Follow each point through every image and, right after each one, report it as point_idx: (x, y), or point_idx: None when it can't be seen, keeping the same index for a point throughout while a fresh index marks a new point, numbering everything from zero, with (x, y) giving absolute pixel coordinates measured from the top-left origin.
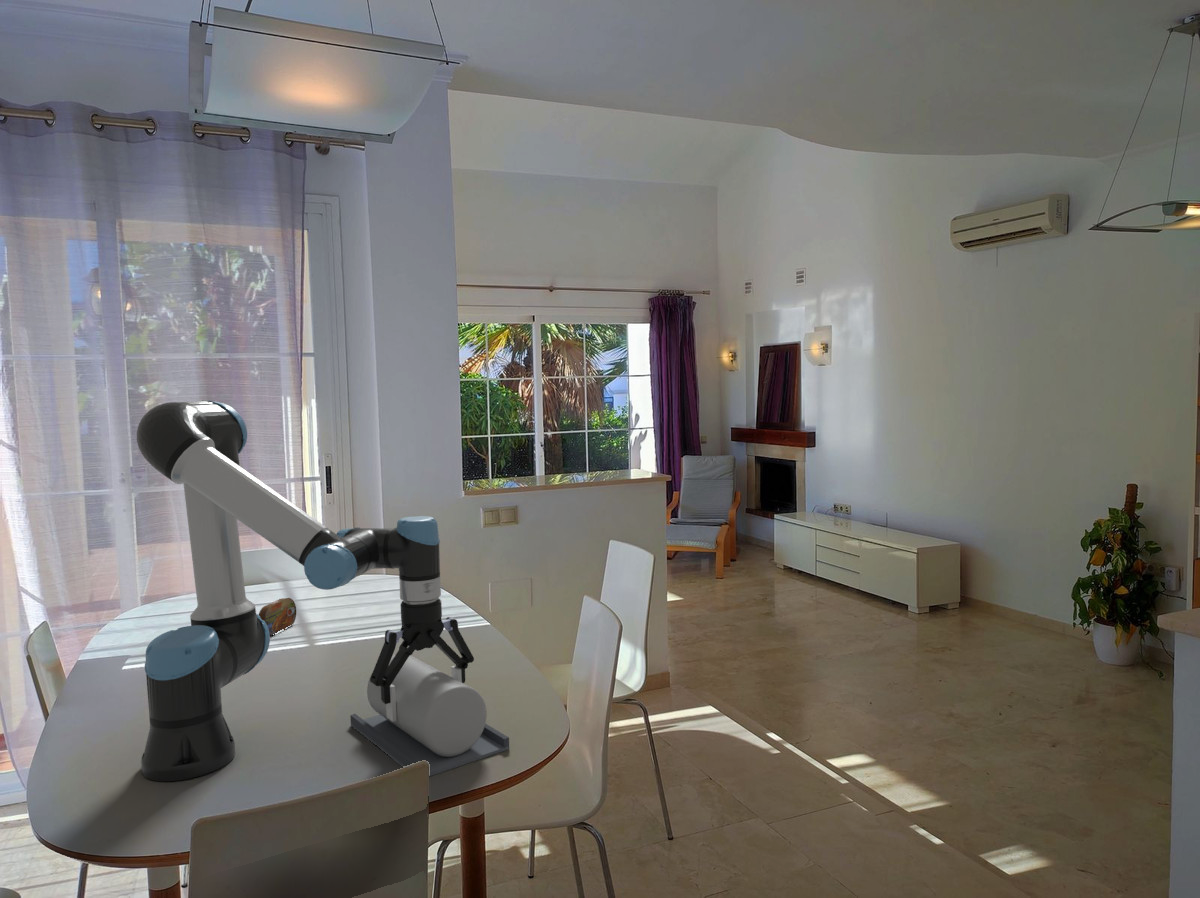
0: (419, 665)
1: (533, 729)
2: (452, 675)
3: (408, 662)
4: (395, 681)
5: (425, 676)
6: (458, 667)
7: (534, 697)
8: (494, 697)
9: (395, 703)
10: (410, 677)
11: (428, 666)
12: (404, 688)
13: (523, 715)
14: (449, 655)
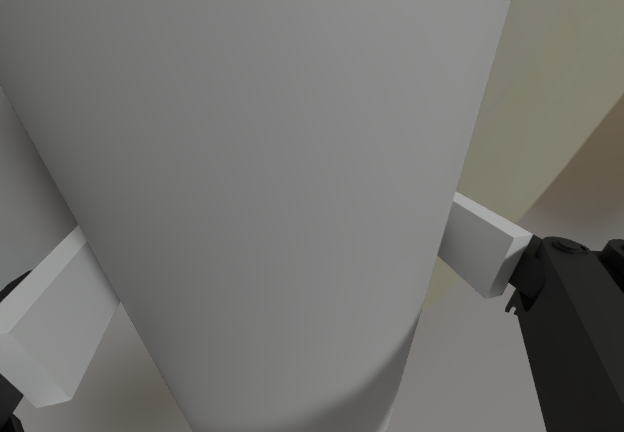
0: (356, 250)
1: None
2: (469, 221)
3: (312, 75)
4: (100, 247)
5: (282, 424)
6: (513, 275)
7: (585, 105)
8: (559, 16)
9: (117, 303)
10: (206, 365)
11: (407, 259)
12: (156, 355)
13: (489, 187)
14: (542, 405)
